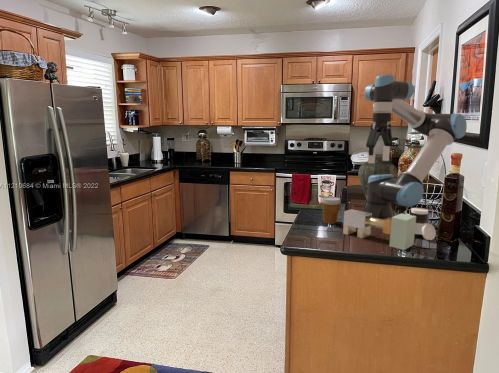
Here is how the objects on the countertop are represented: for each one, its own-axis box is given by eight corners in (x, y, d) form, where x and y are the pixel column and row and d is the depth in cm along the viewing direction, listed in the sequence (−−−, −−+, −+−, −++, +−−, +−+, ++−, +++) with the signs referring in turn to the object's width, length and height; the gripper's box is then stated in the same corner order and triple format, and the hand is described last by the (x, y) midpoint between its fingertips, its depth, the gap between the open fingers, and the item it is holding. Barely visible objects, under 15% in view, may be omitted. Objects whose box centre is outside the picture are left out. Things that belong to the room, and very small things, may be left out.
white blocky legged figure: (350, 230, 166) (351, 209, 164) (370, 235, 159) (372, 213, 157) (342, 233, 161) (343, 211, 159) (363, 238, 154) (364, 216, 152)
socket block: (398, 241, 151) (401, 213, 149) (413, 244, 147) (416, 216, 145) (389, 246, 145) (391, 217, 143) (404, 250, 141) (406, 220, 139)
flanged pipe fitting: (411, 230, 166) (413, 206, 164) (438, 235, 159) (441, 210, 157) (403, 237, 157) (405, 211, 155) (431, 242, 150) (434, 215, 148)
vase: (390, 200, 230) (394, 152, 224) (399, 208, 208) (403, 156, 203) (354, 198, 233) (357, 152, 227) (359, 206, 211) (362, 155, 206)
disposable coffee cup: (340, 220, 182) (341, 197, 180) (339, 225, 173) (340, 201, 171) (320, 218, 185) (321, 195, 183) (319, 223, 176) (320, 199, 174)
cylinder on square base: (359, 224, 161) (360, 211, 160) (404, 234, 147) (405, 220, 146) (354, 226, 158) (355, 213, 157) (399, 236, 144) (400, 223, 143)
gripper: (386, 113, 167) (383, 159, 170) (359, 112, 149) (356, 163, 153) (403, 113, 161) (399, 160, 165) (376, 111, 144) (373, 164, 148)
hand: (378, 161), depth 159 cm, fingers open, 13 cm apart
